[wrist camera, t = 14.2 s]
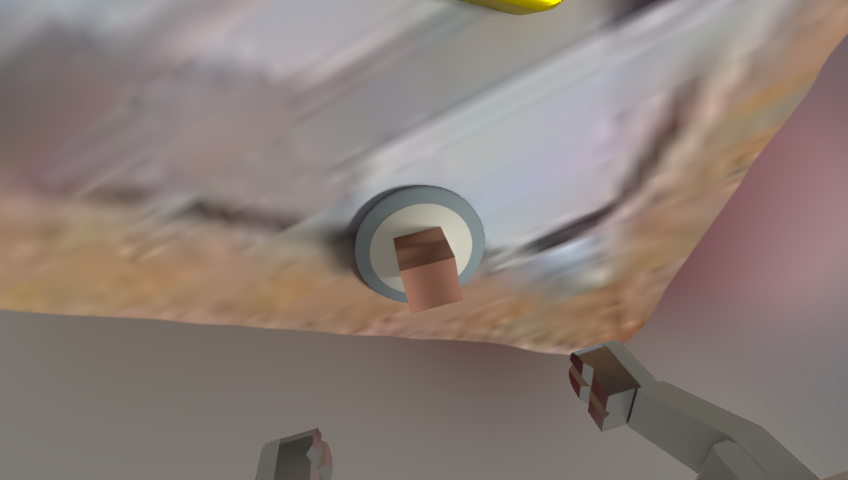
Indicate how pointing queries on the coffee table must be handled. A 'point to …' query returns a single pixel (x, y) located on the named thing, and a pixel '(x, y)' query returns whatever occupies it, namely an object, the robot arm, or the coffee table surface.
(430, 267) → the block
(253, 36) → the coffee table surface
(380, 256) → the dish
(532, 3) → the element tile
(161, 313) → the coffee table surface
